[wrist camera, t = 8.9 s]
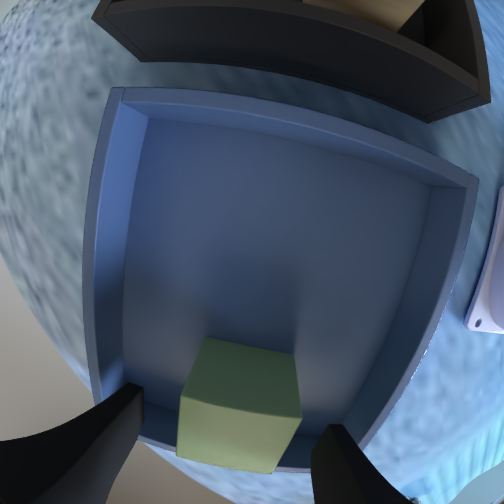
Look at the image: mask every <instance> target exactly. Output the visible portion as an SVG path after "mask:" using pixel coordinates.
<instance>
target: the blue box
mask: <svg viewBox="0 0 504 504" xmlns="http://www.w3.org/2000/svg"><path fill="white" fill-rule="evenodd" d="M478 184H479V178H477V177H476V176H474V175H472V174H470V173H468V172H467V171H465V170H463V169H461V168H460V167H458V166H456V165H454V164H452V163H450V162H448V161H446V160H444V159H442V158H440V157H438V156H436V155H434V154H432V153H430V152H428V151H426V150H424V149H421V148H419V147H417V146H415V145H412V144H410V143H408V142H405V141H403V140H401V139H398V138H396V137H393V136H391V135H388V134H386V133H383V132H380V131H378V130H375V129H372V128H369V127H367V126H364V125H361V124H358V123H355V122H352V121H349V120H346V119H342V118H339V117H336V116H332V115H329V114H326V113H322V112H318V111H315V110H311V109H307V108H303V107H299V106H295V105H290V104H286V103H281V102H277V101H272V100H267V99H261V98H256V97H250V96H244V95H238V94H231V93H223V92H215V91H206V90H196V89H183V88H166V87H126V88H125V87H113V88H111V91H110V94H109V98H108V101H107V104H106V108H105V112H104V115H103V119H102V123H101V127H100V131H99V135H98V140H97V144H96V149H95V154H94V159H93V165H92V170H91V176H90V183H89V190H88V197H87V206H86V215H85V226H84V240H83V264H82V295H83V318H84V332H85V343H86V352H87V360H88V368H89V374H90V381H91V387H92V392H93V397H94V402H95V406H96V405H97V404H99V403H100V402H102V401H103V400H105V399H106V398H108V397H109V396H110V395H112V394H113V393H115V392H116V391H117V390H119V389H120V388H121V387H123V386H124V385H125V384H127V383H128V382H131V383H133V384H136V385H139V386H142V387H144V413H145V420H144V423H143V426H142V428H141V431H140V433H139V436H138V438H137V440H139V441H142V442H145V443H148V444H151V445H154V446H157V447H160V448H163V449H166V450H169V451H172V452H176V443H177V429H178V416H179V405H180V395H181V392H182V390H183V388H184V385H185V383H186V380H187V378H188V376H189V373H190V371H191V368H192V366H193V364H194V361H195V359H196V356H197V354H198V352H199V349H200V347H201V345H202V342H203V340H204V338H205V336H207V337H211V338H215V339H219V340H223V341H228V342H232V343H237V344H241V345H246V346H250V347H255V348H260V349H265V350H270V351H276V352H281V353H287V354H293V355H294V357H295V364H296V371H297V378H298V386H299V394H300V401H301V409H302V417H303V419H302V421H301V423H300V425H299V426H298V428H297V430H296V432H295V434H294V436H293V438H292V439H291V441H290V443H289V445H288V447H287V448H286V450H285V452H284V454H283V455H282V457H281V459H280V460H279V462H278V464H277V466H276V467H275V469H274V470H273V471H277V472H290V473H311V451H312V450H313V448H314V446H315V445H316V443H317V442H318V440H319V439H320V437H321V435H322V434H323V432H324V431H325V429H326V427H327V426H328V424H343V425H344V427H345V428H346V430H347V431H348V432H349V434H350V435H351V437H352V438H353V439H354V441H355V442H356V444H357V445H358V446H359V448H360V449H361V450H362V451H363V450H364V449H365V448H366V446H367V445H368V444H369V443H370V441H371V440H372V439H373V437H374V436H375V435H376V433H377V432H378V431H379V429H380V428H381V426H382V425H383V424H384V422H385V421H386V419H387V418H388V416H389V415H390V413H391V412H392V410H393V409H394V407H395V406H396V404H397V403H398V401H399V399H400V398H401V396H402V394H403V393H404V391H405V390H406V388H407V386H408V384H409V383H410V381H411V379H412V377H413V376H414V374H415V372H416V370H417V368H418V367H419V365H420V363H421V361H422V359H423V357H424V355H425V353H426V351H427V349H428V347H429V345H430V343H431V341H432V338H433V336H434V334H435V332H436V330H437V327H438V325H439V323H440V320H441V318H442V316H443V313H444V311H445V308H446V306H447V303H448V300H449V298H450V295H451V292H452V290H453V287H454V284H455V281H456V278H457V275H458V272H459V268H460V265H461V262H462V258H463V255H464V251H465V248H466V244H467V240H468V236H469V232H470V228H471V223H472V218H473V213H474V208H475V203H476V197H477V191H478Z"/></svg>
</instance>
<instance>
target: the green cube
mask: <svg viewBox="0 0 504 504" xmlns="http://www.w3.org/2000/svg"><path fill="white" fill-rule="evenodd" d="M302 419H303V417H302V409H301V401H300V394H299V386H298V378H297V371H296V364H295V357H294V355H293V354H287V353H281V352H276V351H270V350H265V349H260V348H255V347H250V346H246V345H241V344H237V343H232V342H228V341H223V340H219V339H215V338H211V337H207V336H205V338H204V340H203V342H202V345H201V347H200V349H199V352H198V354H197V356H196V359H195V361H194V364H193V366H192V368H191V371H190V373H189V376H188V378H187V380H186V383H185V385H184V388H183V390H182V392H181V395H180V405H179V416H178V429H177V443H176V456H178V457H181V458H185V459H189V460H193V461H197V462H201V463H205V464H210V465H214V466H219V467H224V468H230V469H236V470H242V471H249V472H256V473H265V474H272V472H273V470H274V469H275V467H276V466H277V464H278V462H279V460H280V459H281V457H282V455H283V454H284V452H285V450H286V448H287V447H288V445H289V443H290V441H291V439H292V438H293V436H294V434H295V432H296V430H297V428H298V426H299V425H300V423H301V421H302Z"/></svg>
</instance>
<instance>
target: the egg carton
mask: <svg viewBox="0 0 504 504" xmlns="http://www.w3.org/2000/svg"><path fill="white" fill-rule="evenodd" d="M405 497H406V498H407V499H409V497H407V496H405ZM409 500H410V499H409ZM411 502H413V503H414V504H421V501H420V500H419V499H418V498H416V499H414V500H412V501H411Z"/></svg>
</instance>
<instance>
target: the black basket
mask: <svg viewBox="0 0 504 504" xmlns="http://www.w3.org/2000/svg"><path fill="white" fill-rule="evenodd" d="M302 2H303V0H101V1H100V3H99V4H98V6H97V8H96V10H95V11H94V13H93V15H92V17H91V19H92V20H93V21H94V22H96V23H97V24H98V25H99V26H100V27H102V28H103V29H104V30H105V31H106V32H107V33H109V34H110V35H111V36H112V37H113V38H114V39H116V40H117V41H118V42H119V43H120V44H121V45H123V46H124V47H125V48H126V49H127V50H128V51H129V52H130V53H132V54H133V55H134V56H135V57H136V58H137V59H138V60H139V61H140V62H193V63H208V64H219V65H229V66H237V67H245V68H251V69H258V70H264V71H269V72H275V73H280V74H285V75H289V76H294V77H298V78H302V79H307V80H311V81H314V82H318V83H322V84H325V85H329V86H332V87H336V88H339V89H342V90H345V91H349V92H352V93H355V94H358V95H360V96H363V97H366V98H369V99H372V100H374V101H377V102H380V103H382V104H385V105H387V106H390V107H392V108H394V109H397V110H399V111H402V112H404V113H406V114H408V115H411V116H413V117H415V118H417V119H419V120H421V121H423V122H425V123H427V124H428V123H431V122H434V121H437V120H440V119H443V118H446V117H448V116H451V115H454V114H457V113H460V112H463V111H466V110H469V109H472V108H475V107H478V106H482V105H485V104H488V103H491V94H490V81H489V72H488V64H487V57H486V51H485V45H484V40H483V35H482V30H481V26H480V22H479V18H478V14H477V10H476V7H475V3H474V0H425V1H424V2H423V3H422V4H421V5H420V6H419V8H418V9H417V10H416V11H415V12H414V13H413V14H412V15H411V17H410V18H409V19H408V20H407V21H406V22H405V23H404V24H403V26H402V27H401V28H400V29H399V30H398V31H397V32H396V33H395V32H393V31H391V30H388V29H386V28H384V27H381V26H379V25H376V24H373V23H371V22H368V21H365V20H362V19H360V18H357V17H354V16H351V15H347V14H344V13H341V12H337V11H334V10H330V9H327V8H323V7H319V6H315V5H310V4H306V3H302Z"/></svg>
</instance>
